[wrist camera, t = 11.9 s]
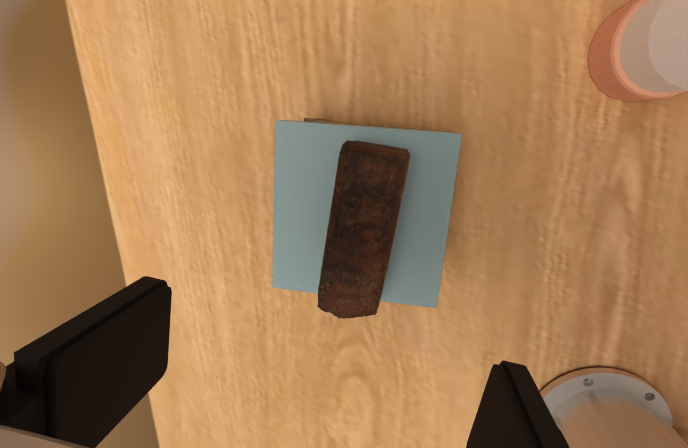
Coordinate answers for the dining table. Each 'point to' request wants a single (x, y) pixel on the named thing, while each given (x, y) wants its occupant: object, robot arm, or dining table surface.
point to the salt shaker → (642, 51)
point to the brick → (361, 227)
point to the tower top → (317, 192)
